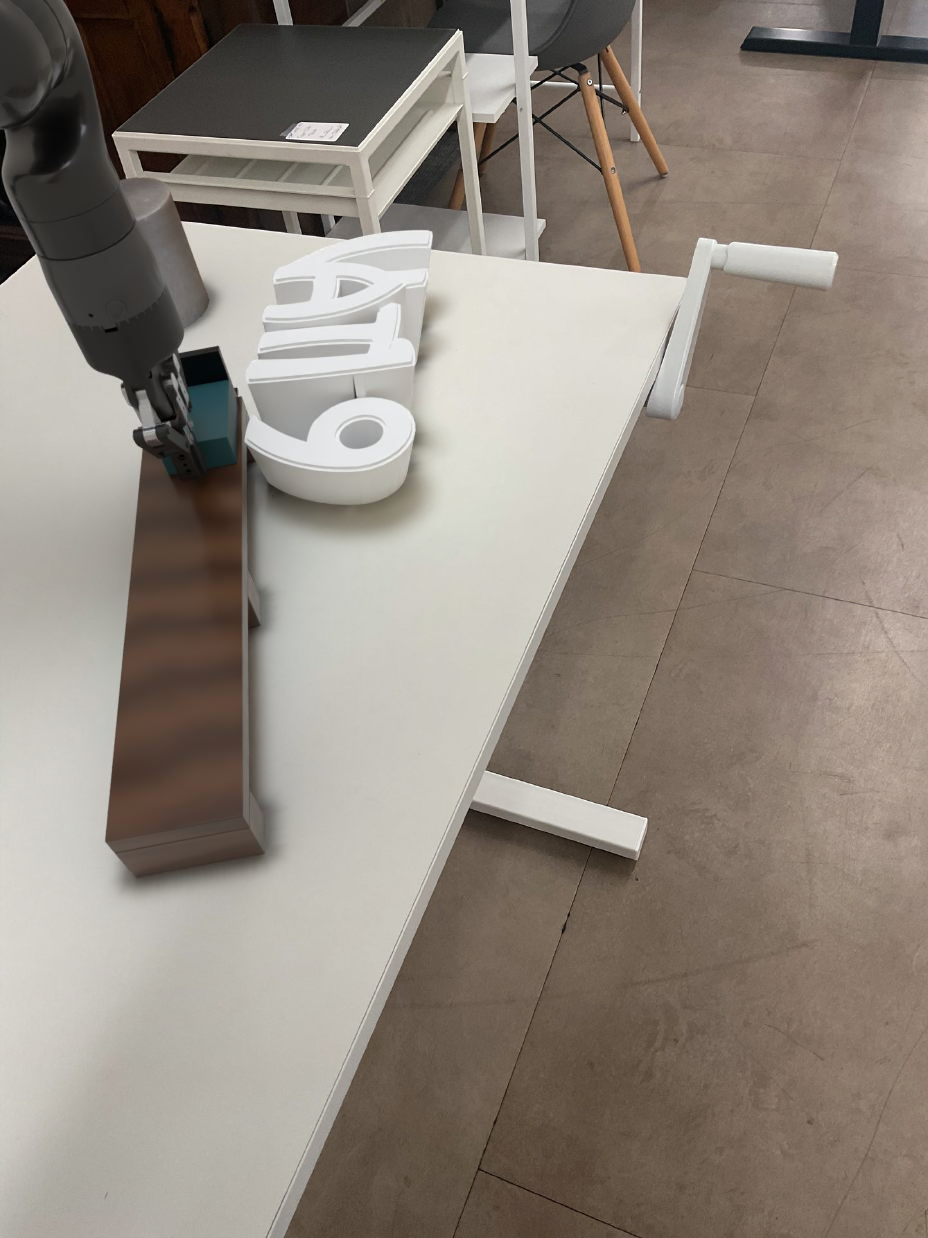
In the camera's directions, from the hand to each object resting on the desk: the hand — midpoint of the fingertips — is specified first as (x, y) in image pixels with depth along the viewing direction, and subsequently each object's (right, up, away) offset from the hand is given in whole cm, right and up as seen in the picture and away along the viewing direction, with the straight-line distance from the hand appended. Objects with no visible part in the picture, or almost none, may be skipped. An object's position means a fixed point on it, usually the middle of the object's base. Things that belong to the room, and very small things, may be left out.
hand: (195, 474), depth 85 cm
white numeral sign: (+12, +9, +15) cm, 21 cm away
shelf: (+2, -13, -1) cm, 13 cm away
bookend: (-2, +7, +7) cm, 10 cm away
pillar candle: (-11, +22, +29) cm, 38 cm away
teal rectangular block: (0, +4, +5) cm, 6 cm away
